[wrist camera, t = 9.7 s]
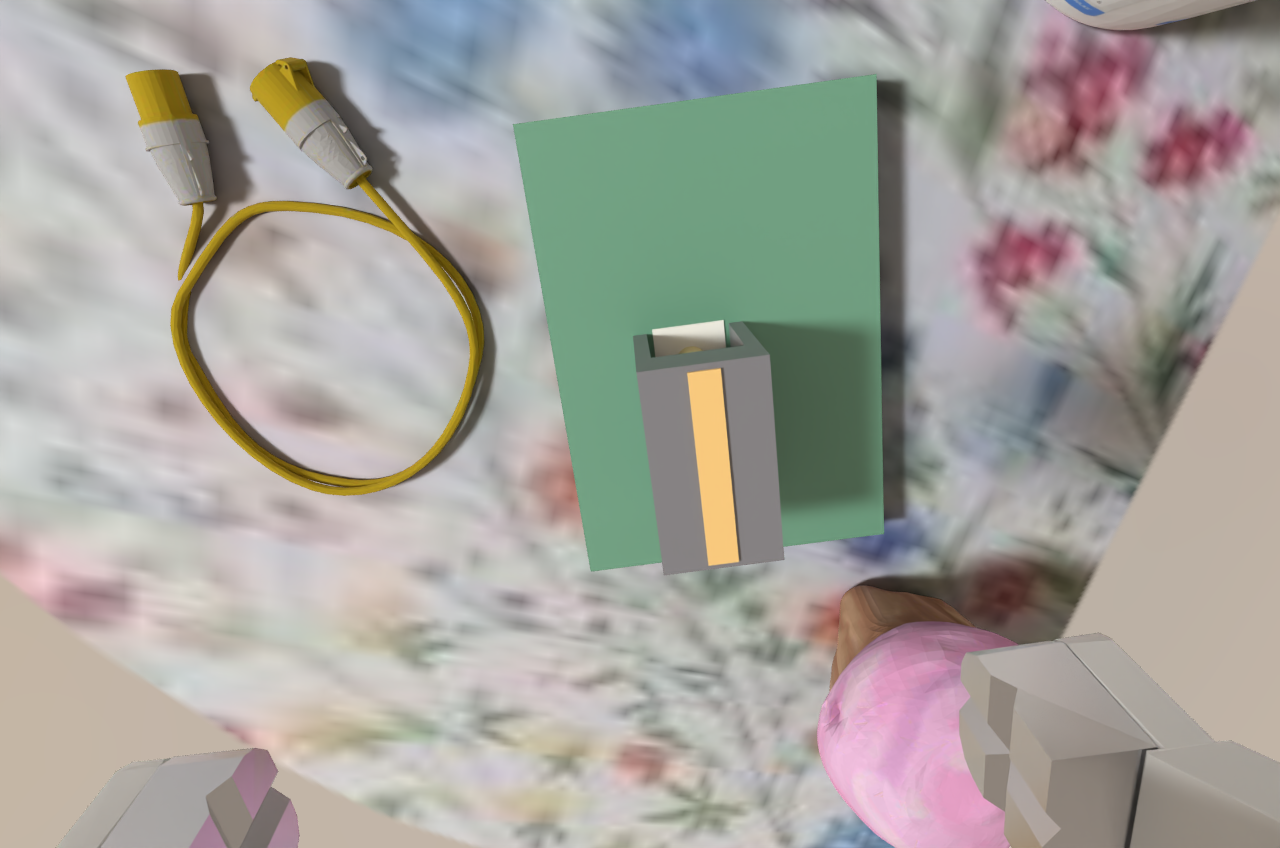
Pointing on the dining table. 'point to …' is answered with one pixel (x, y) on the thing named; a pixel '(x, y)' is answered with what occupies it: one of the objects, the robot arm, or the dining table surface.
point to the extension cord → (331, 148)
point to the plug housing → (712, 453)
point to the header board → (716, 289)
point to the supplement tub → (1137, 11)
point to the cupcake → (905, 721)
